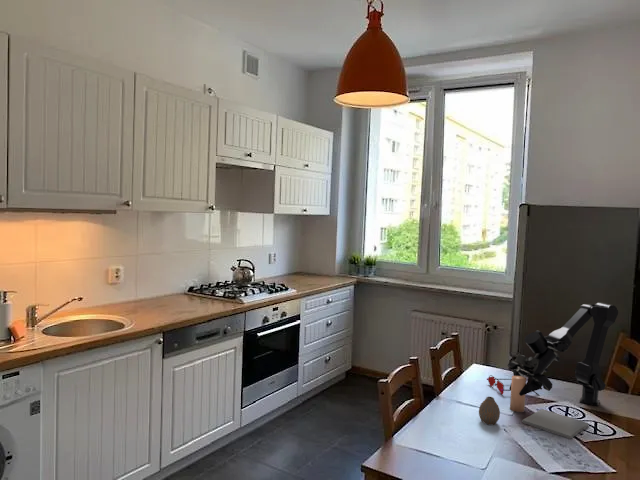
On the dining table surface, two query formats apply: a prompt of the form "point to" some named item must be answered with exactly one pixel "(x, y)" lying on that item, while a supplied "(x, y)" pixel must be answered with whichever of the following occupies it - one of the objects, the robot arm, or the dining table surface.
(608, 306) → the robot arm
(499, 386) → the glasses
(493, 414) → the vase
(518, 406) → the tan cylinder
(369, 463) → the dining table surface
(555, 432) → the tile
